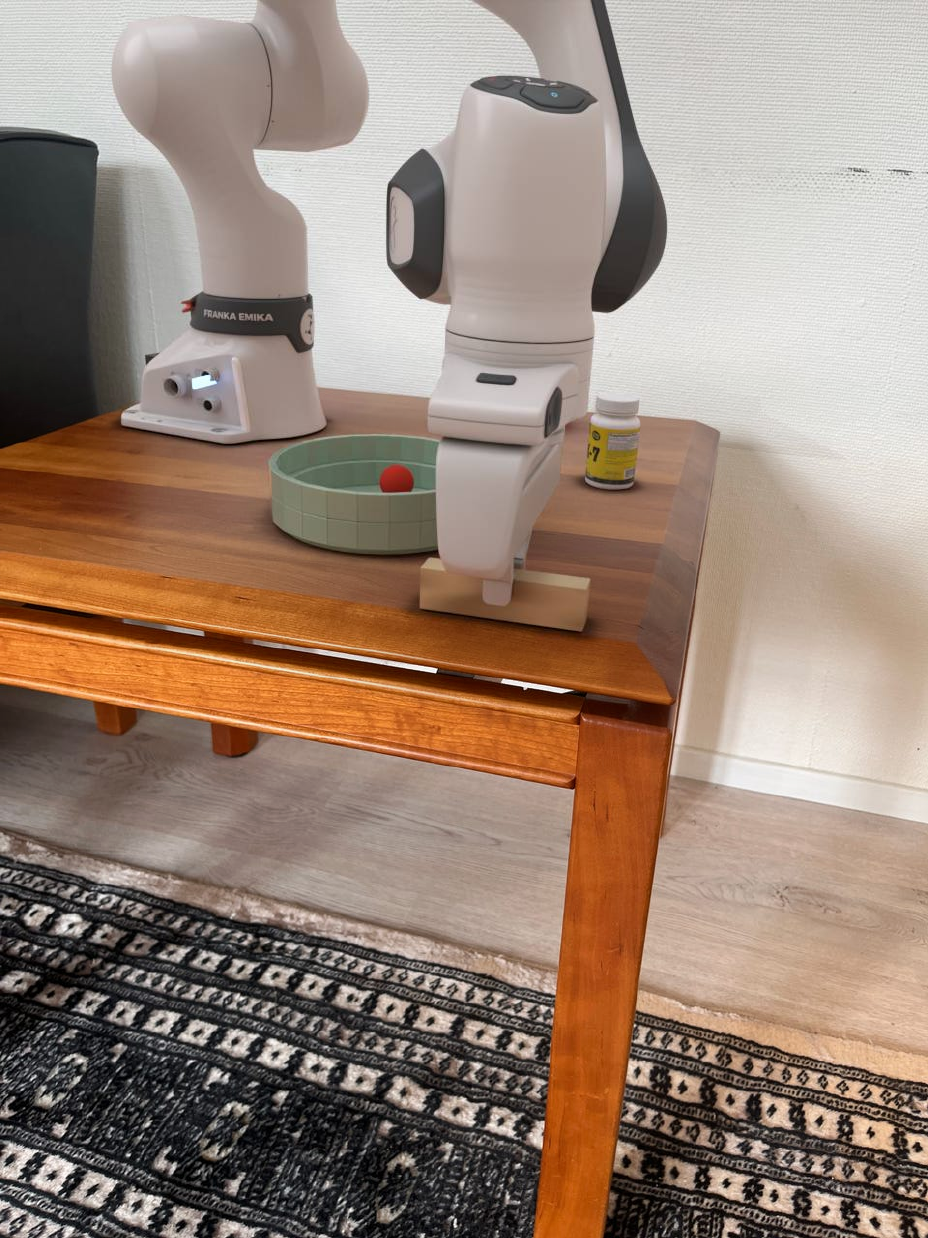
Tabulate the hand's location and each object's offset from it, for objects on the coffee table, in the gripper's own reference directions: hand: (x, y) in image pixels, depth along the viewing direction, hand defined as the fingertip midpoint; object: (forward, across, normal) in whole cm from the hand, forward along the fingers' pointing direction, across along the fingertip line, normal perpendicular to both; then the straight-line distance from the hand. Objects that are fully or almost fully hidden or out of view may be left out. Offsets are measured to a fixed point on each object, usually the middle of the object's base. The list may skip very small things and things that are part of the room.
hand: (503, 592), depth 65 cm
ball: (0, -20, -14) cm, 24 cm away
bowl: (+2, -16, -14) cm, 21 cm away
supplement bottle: (+2, -34, +3) cm, 34 cm away
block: (+2, 0, 0) cm, 2 cm away
